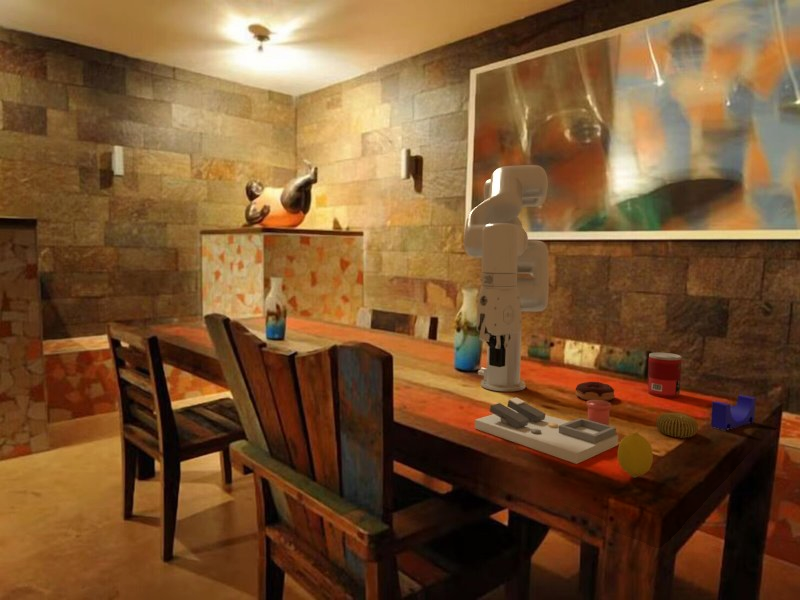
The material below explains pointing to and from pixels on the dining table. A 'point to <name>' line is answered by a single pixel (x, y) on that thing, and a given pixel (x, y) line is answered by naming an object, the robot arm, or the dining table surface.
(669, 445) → the dining table surface
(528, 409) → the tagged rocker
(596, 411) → the cap
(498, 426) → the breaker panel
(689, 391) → the dining table surface
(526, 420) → the plain rocker
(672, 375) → the canned food
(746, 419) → the blue pipe cradle
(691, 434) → the sculpture
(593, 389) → the donut
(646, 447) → the lemon
